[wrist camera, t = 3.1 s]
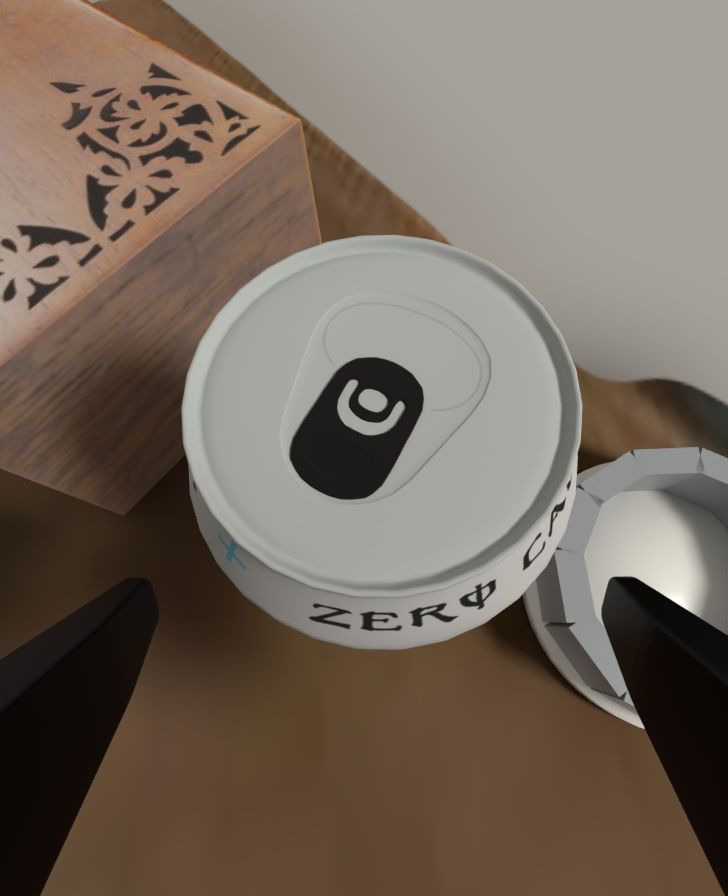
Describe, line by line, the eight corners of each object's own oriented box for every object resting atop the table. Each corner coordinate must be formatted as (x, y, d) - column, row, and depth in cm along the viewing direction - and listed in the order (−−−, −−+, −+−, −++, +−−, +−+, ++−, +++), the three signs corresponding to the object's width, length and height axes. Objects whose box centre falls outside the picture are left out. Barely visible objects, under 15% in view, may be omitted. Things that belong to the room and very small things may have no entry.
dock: (645, 795, 16) (706, 838, 13) (469, 545, 19) (486, 532, 16) (846, 630, 18) (944, 633, 15) (653, 424, 21) (699, 391, 18)
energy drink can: (475, 522, 20) (700, 298, 6) (413, 655, 18) (516, 798, 4) (355, 461, 21) (297, 150, 7) (286, 580, 19) (24, 487, 5)
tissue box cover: (-145, 248, 27) (-421, 56, 18) (48, 115, 31) (-98, -103, 21) (126, 517, 21) (-84, 436, 11) (333, 310, 24) (301, 119, 15)
